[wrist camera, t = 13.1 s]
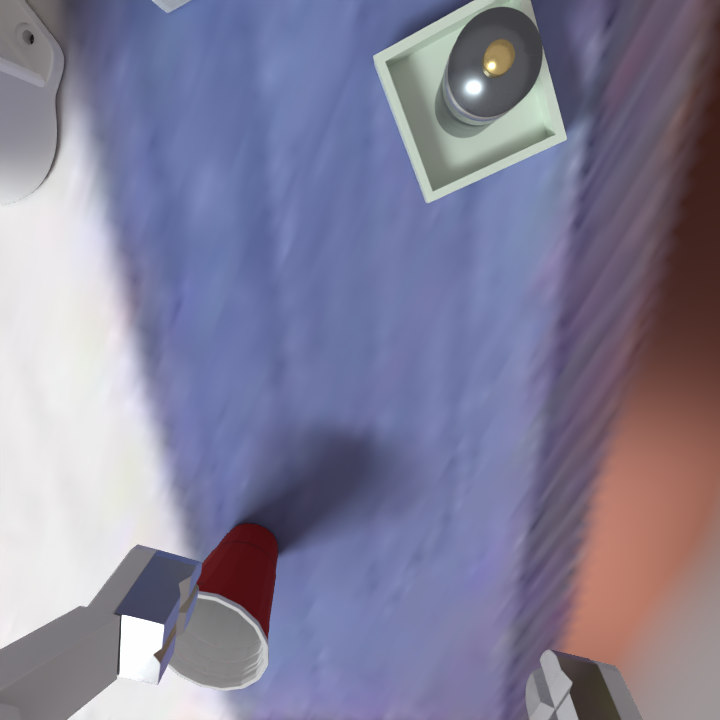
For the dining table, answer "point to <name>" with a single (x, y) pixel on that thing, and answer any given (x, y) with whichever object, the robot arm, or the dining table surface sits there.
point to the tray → (419, 123)
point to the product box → (170, 4)
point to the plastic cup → (230, 613)
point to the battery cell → (488, 71)
